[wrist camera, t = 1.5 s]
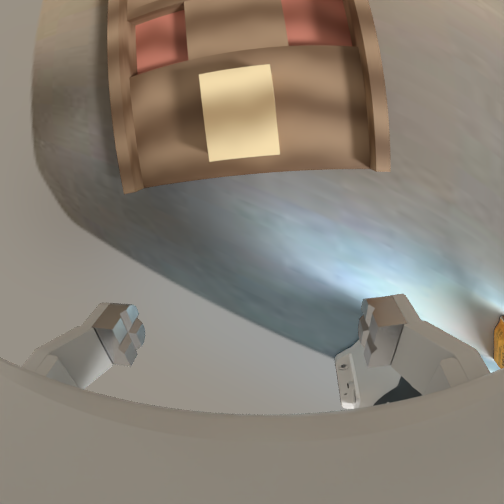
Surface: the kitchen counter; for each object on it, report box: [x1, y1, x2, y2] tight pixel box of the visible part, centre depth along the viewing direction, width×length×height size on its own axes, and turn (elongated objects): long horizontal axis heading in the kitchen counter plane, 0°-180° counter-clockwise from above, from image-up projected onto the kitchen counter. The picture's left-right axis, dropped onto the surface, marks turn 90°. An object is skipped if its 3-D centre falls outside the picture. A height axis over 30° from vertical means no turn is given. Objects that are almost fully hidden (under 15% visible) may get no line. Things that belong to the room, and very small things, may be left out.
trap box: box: [107, 0, 390, 194], centre depth 20 cm, size 33×27×4 cm
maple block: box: [199, 64, 280, 162], centre depth 22 cm, size 8×6×4 cm
